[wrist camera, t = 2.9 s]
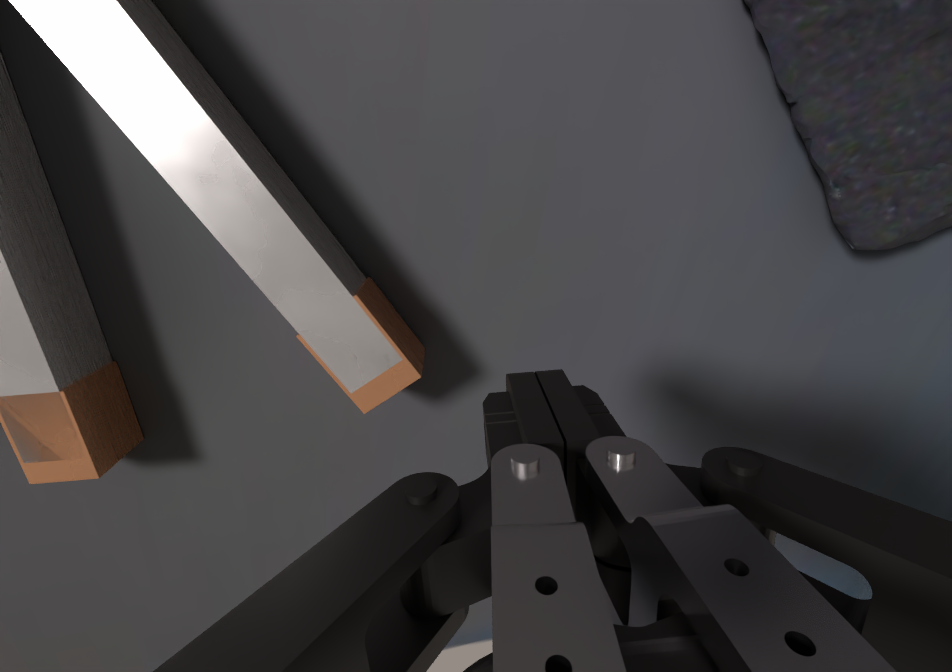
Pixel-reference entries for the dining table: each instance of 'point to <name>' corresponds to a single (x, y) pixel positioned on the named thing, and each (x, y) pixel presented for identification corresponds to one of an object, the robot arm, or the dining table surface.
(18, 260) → the base
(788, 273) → the dining table surface
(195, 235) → the dining table surface
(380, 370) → the tong arm
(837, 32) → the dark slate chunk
